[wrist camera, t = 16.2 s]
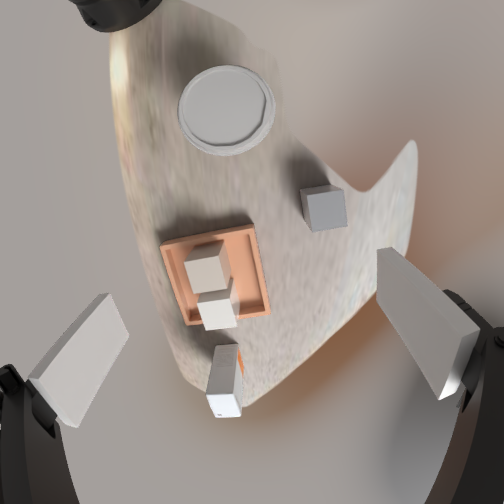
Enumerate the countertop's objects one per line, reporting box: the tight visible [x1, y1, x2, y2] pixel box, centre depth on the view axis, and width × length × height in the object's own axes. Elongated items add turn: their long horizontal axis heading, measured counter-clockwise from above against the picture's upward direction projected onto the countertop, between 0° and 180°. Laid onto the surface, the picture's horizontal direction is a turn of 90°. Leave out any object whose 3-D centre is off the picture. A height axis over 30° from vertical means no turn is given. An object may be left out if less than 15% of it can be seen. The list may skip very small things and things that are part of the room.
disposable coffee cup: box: [177, 65, 276, 156], centre depth 28 cm, size 10×10×12 cm
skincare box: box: [206, 344, 244, 418], centre depth 41 cm, size 6×4×12 cm
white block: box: [197, 279, 240, 331], centre depth 39 cm, size 4×4×6 cm
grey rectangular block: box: [300, 185, 348, 232], centre depth 34 cm, size 4×4×6 cm
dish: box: [159, 223, 271, 326], centre depth 40 cm, size 13×13×2 cm
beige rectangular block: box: [184, 241, 231, 294], centre depth 37 cm, size 4×4×6 cm
